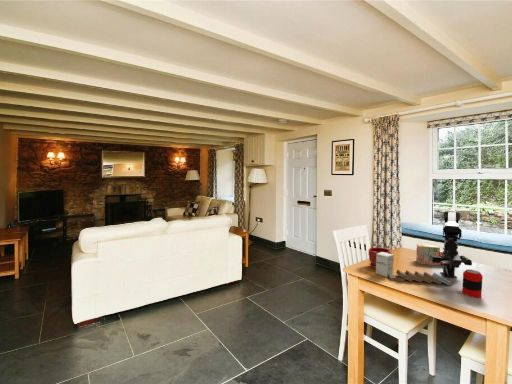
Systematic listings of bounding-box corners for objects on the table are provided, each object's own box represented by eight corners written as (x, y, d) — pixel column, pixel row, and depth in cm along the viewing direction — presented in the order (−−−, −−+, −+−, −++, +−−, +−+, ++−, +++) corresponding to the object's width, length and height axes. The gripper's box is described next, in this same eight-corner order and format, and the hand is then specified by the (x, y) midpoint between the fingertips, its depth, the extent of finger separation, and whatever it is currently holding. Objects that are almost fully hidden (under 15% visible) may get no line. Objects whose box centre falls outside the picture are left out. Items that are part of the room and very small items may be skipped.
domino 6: (445, 282, 150) (432, 275, 152) (447, 279, 150) (433, 272, 151) (449, 285, 145) (435, 278, 147) (451, 282, 145) (437, 275, 146)
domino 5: (436, 281, 151) (423, 274, 153) (438, 278, 151) (424, 271, 152) (439, 284, 146) (426, 277, 148) (441, 281, 146) (428, 274, 148)
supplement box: (375, 273, 162) (375, 253, 161) (381, 271, 167) (382, 251, 166) (387, 277, 156) (387, 256, 155) (393, 274, 161) (394, 254, 160)
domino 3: (417, 279, 154) (404, 272, 155) (419, 276, 153) (406, 270, 155) (420, 282, 149) (407, 276, 150) (422, 279, 148) (409, 273, 150)
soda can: (472, 291, 139) (473, 268, 138) (485, 297, 131) (486, 274, 130) (458, 291, 138) (459, 268, 138) (470, 298, 131) (471, 274, 130)
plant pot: (383, 264, 180) (384, 246, 179) (394, 271, 167) (395, 252, 166) (364, 264, 179) (365, 246, 179) (373, 271, 166) (374, 252, 166)
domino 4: (426, 280, 152) (413, 273, 154) (428, 277, 152) (415, 270, 154) (430, 283, 148) (416, 276, 149) (432, 280, 147) (418, 273, 149)
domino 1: (401, 278, 156) (388, 277, 157) (402, 275, 155) (388, 274, 157) (404, 282, 151) (390, 280, 152) (404, 278, 151) (390, 277, 152)
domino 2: (408, 278, 155) (395, 272, 156) (410, 275, 154) (397, 269, 156) (411, 282, 150) (398, 275, 151) (413, 279, 149) (400, 272, 151)
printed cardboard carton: (451, 264, 181) (452, 246, 180) (455, 267, 175) (456, 249, 174) (416, 260, 188) (416, 243, 187) (417, 263, 182) (418, 245, 182)
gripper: (437, 250, 141) (435, 278, 142) (478, 253, 136) (476, 282, 137) (429, 244, 152) (427, 271, 153) (467, 247, 147) (465, 274, 148)
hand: (448, 275), depth 147 cm, fingers closed
